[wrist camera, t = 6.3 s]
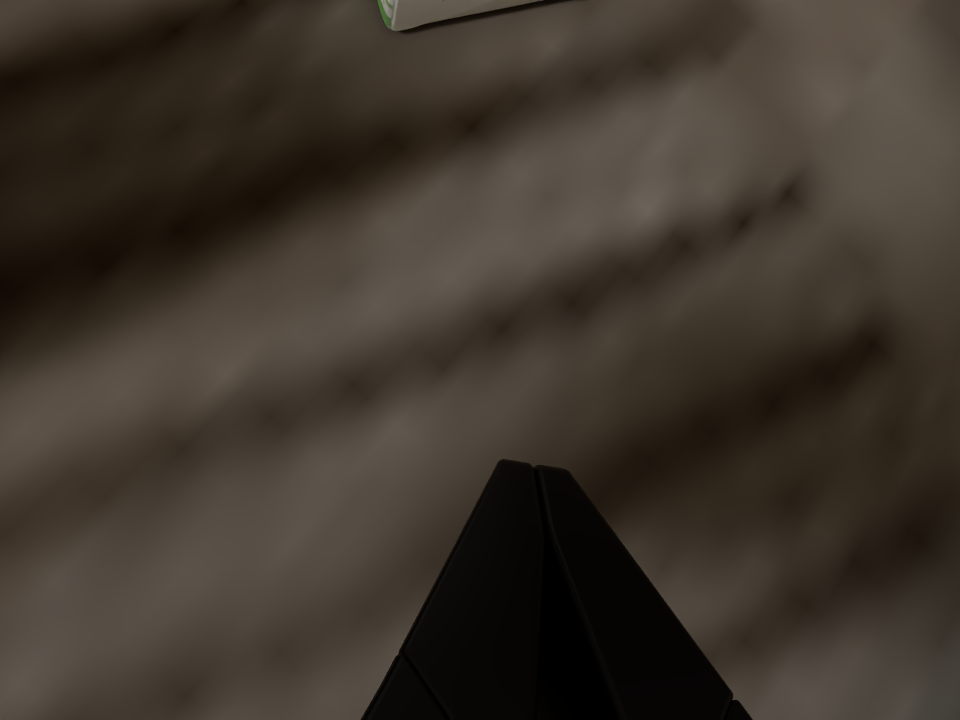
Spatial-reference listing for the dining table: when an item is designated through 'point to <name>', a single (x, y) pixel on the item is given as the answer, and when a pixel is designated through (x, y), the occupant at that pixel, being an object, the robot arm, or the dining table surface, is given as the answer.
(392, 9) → the syrup box
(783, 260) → the dining table surface
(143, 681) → the dining table surface
